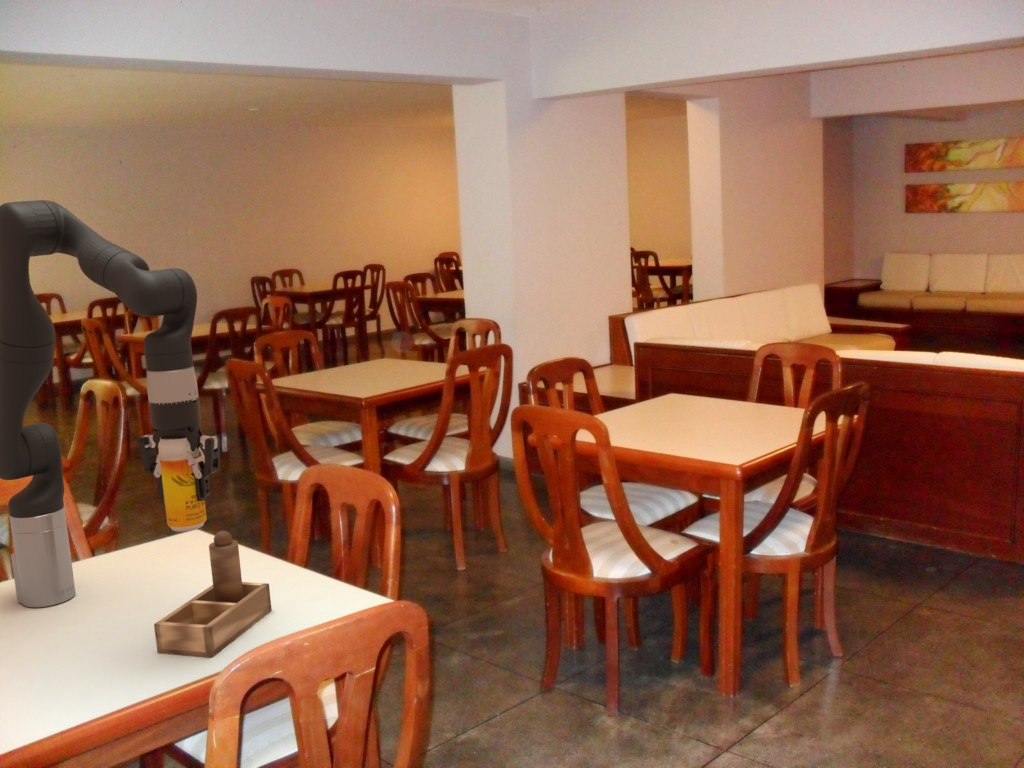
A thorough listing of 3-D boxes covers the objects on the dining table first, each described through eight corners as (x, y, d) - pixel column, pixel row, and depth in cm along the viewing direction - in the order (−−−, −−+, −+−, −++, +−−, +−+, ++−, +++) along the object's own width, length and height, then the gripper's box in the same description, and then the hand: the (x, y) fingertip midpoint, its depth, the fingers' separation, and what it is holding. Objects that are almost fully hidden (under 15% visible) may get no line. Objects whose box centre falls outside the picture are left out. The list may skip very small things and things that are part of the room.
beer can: (195, 532, 157) (184, 440, 154) (160, 532, 158) (149, 440, 156) (214, 520, 163) (204, 431, 160) (180, 520, 164) (170, 431, 161)
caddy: (157, 653, 161) (146, 558, 158) (221, 607, 179) (212, 521, 176) (211, 657, 158) (201, 561, 155) (271, 610, 176) (263, 523, 173)
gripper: (119, 401, 155) (132, 504, 158) (199, 401, 151) (211, 507, 154) (149, 392, 162) (160, 491, 165) (226, 392, 158) (237, 493, 161)
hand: (185, 498), depth 160 cm, fingers closed on beer can, 6 cm apart
